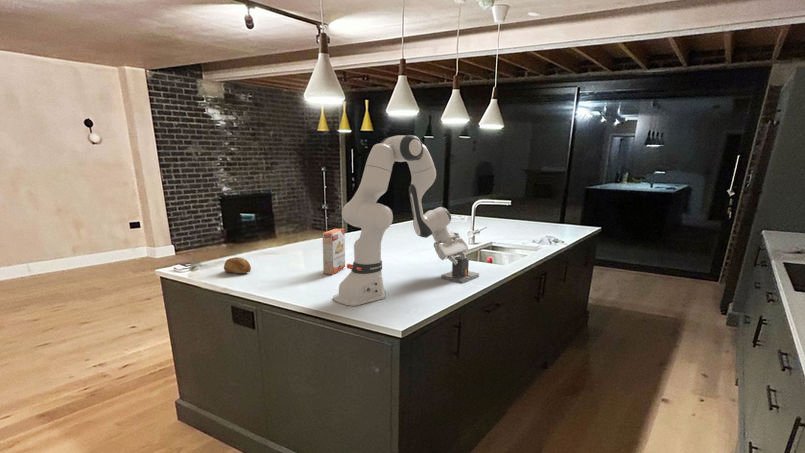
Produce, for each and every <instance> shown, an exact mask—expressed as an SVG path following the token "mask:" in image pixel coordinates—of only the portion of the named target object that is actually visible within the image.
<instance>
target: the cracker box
mask: <svg viewBox="0 0 805 453" xmlns="http://www.w3.org/2000/svg"><path fill="white" fill-rule="evenodd" d="M345 232H346V231H345V228H333V229H331V230H328V231H325V232H323V233H322V261H323V262H322V265H323V267H322V268H323V269H322V270H323V274H324V273H325V274H324V275H330V274H334V275H335V274H337V273H339V272H341V271H342V270H344V269H345V268H346V240H345V239H346V237H345V235H346V234H345ZM344 267H345V268H344ZM343 268H344V269H343ZM341 269H342V270H341ZM338 271H339V272H338ZM336 272H337V273H336Z"/></svg>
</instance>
